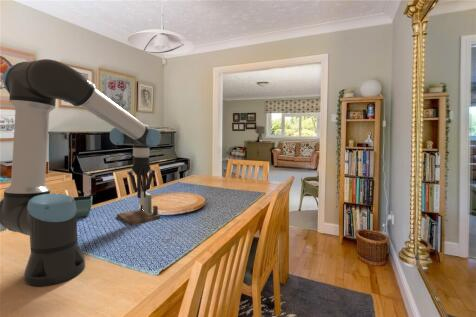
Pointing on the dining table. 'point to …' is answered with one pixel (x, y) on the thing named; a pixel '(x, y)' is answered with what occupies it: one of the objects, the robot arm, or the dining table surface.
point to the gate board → (138, 216)
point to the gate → (147, 204)
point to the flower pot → (83, 205)
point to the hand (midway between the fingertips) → (141, 204)
